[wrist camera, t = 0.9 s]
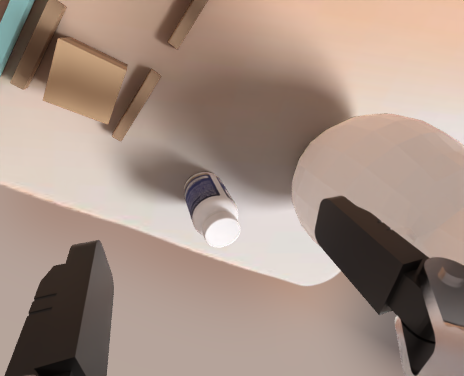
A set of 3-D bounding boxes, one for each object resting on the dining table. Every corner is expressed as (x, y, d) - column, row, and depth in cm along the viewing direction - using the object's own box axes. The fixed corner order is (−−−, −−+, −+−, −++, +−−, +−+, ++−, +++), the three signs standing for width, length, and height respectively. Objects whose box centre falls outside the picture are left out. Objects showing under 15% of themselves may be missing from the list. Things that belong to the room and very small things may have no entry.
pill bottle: (177, 201, 35) (190, 250, 27) (191, 166, 34) (209, 207, 26) (213, 208, 38) (234, 255, 30) (227, 176, 36) (254, 217, 28)
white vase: (280, 96, 33) (526, 202, 12) (393, 98, 38) (692, 173, 18) (261, 218, 42) (385, 396, 21) (355, 205, 47) (524, 337, 27)
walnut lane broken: (126, -157, 19) (124, -215, 15) (229, -38, 24) (250, -54, 20) (15, 80, 24) (-13, 91, 19) (121, 138, 29) (119, 157, 24)
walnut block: (71, 37, 24) (57, 37, 20) (127, 64, 26) (126, 70, 22) (57, 89, 25) (42, 100, 21) (111, 111, 28) (108, 124, 24)
